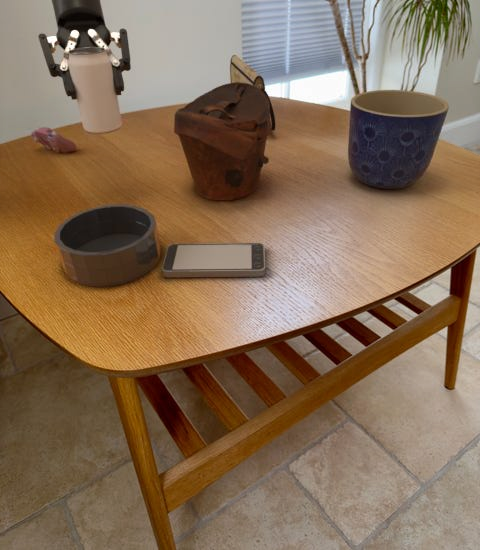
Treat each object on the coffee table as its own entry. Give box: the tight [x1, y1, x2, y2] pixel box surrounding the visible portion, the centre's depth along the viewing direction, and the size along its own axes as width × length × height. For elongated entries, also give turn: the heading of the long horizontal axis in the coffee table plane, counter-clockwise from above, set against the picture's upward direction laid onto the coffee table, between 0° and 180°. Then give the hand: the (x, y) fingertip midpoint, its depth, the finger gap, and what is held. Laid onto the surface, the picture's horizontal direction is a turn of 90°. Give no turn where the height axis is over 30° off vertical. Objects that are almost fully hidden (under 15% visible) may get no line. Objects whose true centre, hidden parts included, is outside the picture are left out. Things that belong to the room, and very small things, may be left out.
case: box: [173, 82, 272, 201], centre depth 81 cm, size 18×20×18 cm
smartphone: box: [161, 242, 266, 278], centre depth 65 cm, size 7×1×15 cm
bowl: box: [53, 203, 162, 288], centre depth 66 cm, size 15×15×6 cm
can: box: [68, 47, 123, 135], centre depth 70 cm, size 6×6×12 cm
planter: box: [347, 89, 450, 190], centre depth 83 cm, size 17×17×15 cm
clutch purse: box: [229, 54, 276, 131], centre depth 114 cm, size 30×7×15 cm, turn 13°
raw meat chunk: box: [30, 126, 77, 153], centre depth 104 cm, size 10×5×7 cm, turn 55°
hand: (96, 94), depth 69 cm, fingers closed on can, 6 cm apart
